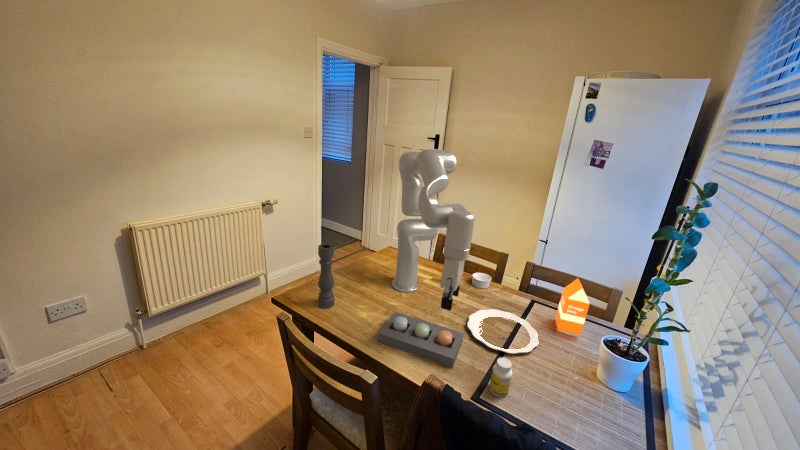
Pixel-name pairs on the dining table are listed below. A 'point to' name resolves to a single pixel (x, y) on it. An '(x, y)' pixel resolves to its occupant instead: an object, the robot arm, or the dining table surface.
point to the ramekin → (481, 280)
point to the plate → (482, 314)
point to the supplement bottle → (501, 377)
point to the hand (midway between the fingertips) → (449, 301)
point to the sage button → (422, 331)
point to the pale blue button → (400, 324)
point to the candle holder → (326, 276)
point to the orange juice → (572, 308)
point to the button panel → (421, 340)
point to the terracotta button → (444, 338)
